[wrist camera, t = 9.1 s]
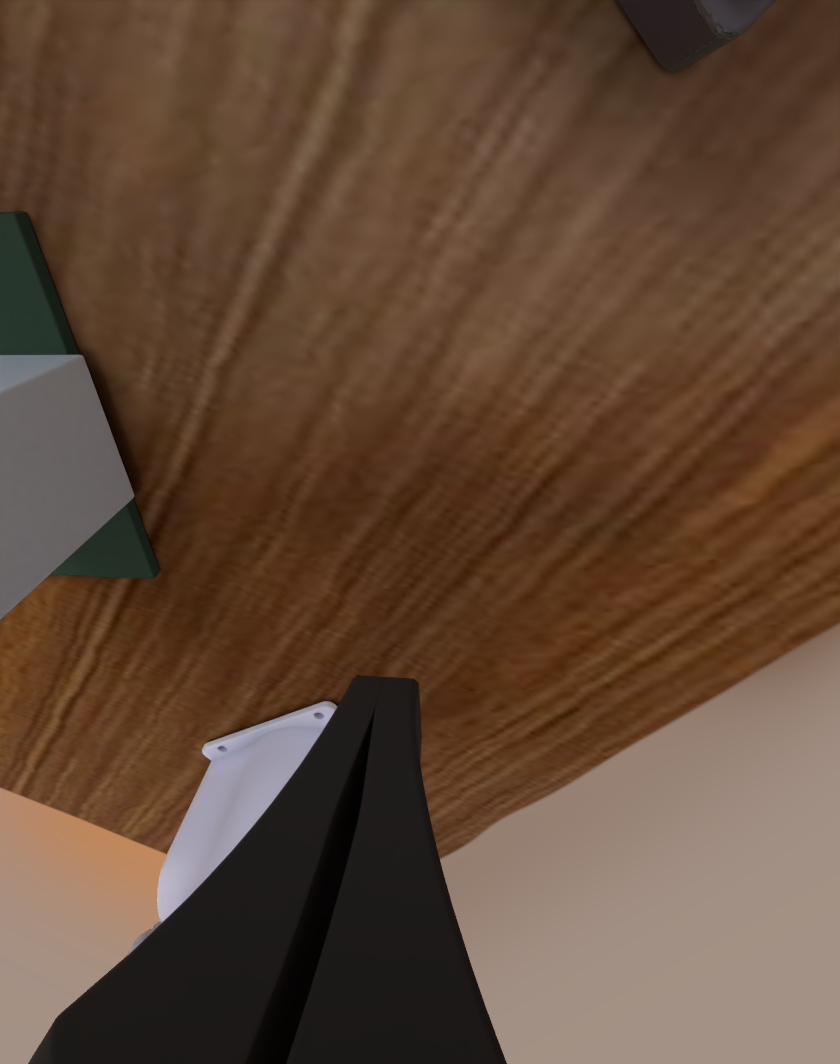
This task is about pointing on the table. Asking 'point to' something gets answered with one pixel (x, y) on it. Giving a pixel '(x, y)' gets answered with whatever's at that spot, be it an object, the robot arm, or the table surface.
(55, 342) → the rubber mat
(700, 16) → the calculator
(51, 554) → the grey block
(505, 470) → the table surface
